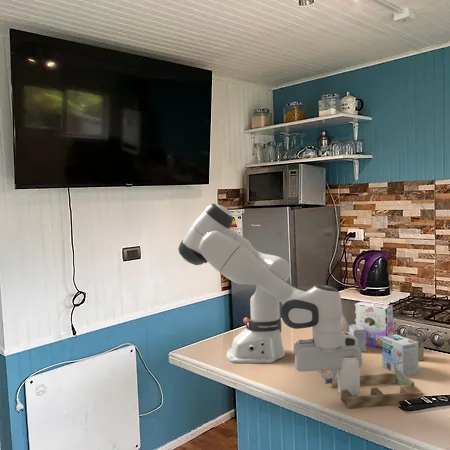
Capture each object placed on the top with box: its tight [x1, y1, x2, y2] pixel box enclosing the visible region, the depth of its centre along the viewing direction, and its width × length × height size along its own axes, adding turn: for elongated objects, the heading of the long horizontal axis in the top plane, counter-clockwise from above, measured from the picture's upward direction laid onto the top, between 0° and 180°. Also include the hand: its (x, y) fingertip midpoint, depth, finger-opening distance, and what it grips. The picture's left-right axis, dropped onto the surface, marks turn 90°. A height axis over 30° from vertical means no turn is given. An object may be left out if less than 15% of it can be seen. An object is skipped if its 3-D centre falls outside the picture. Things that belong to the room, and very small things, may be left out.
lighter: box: [405, 329, 425, 362], centre depth 169 cm, size 7×4×10 cm, turn 27°
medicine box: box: [348, 324, 367, 353], centre depth 182 cm, size 8×4×9 cm, turn 179°
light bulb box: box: [381, 334, 419, 377], centre depth 158 cm, size 11×7×11 cm, turn 21°
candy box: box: [354, 300, 394, 350], centre depth 185 cm, size 14×6×16 cm, turn 44°
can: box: [337, 356, 361, 397], centre depth 142 cm, size 6×6×12 cm
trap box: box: [330, 369, 424, 410], centre depth 140 cm, size 22×16×4 cm
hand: (328, 383), depth 142 cm, fingers closed
